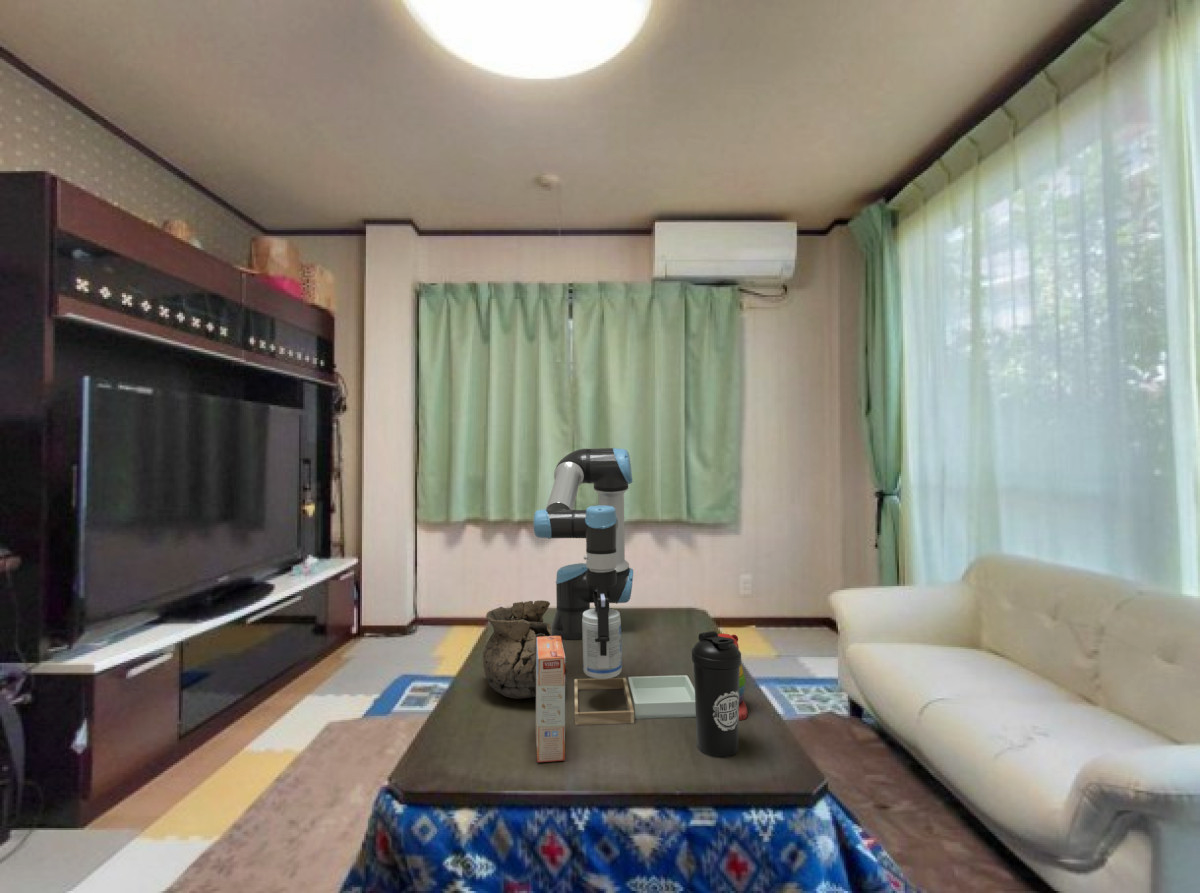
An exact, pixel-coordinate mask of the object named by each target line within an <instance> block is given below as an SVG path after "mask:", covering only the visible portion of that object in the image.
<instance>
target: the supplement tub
mask: <svg viewBox="0 0 1200 893" xmlns="http://www.w3.org/2000/svg"><path fill="white" fill-rule="evenodd" d="M608 617H609V638H610V640H609V668H602V669H598V667H597V642H595V639H597V638H598V617H597V612H595V607H594V608H590V609H589V610H586V611H585V612H583V618H582V636H583V639H582V668H583V669H582V670H583V673H584V674H585V675H586V676H587V677H589V678H591V679H608V678H616V677H617V676H619V675H620V674H621V672H622V669H623V668H622V666H623V665H622V662H623V661H622V660H623V659H622V622H621V620H622V619H621V614H620V611H618V610H617V609H614V608H610V607H609V612H608Z"/></svg>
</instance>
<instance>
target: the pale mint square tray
mask: <svg viewBox="0 0 1200 893" xmlns="http://www.w3.org/2000/svg"><path fill="white" fill-rule="evenodd" d="M627 684H628V689H629V693H630V697H631V701H632V705H633V709H634V720H641V719H643V720H644V719H674V718H676V719H679V718H696V711H695V686H693V685H694V684H693V683H692V681H691V680H690V678H689V676H688V675H686V674H685V675H684V674H683V675H648V676H645V675H644V676H628V677H627Z"/></svg>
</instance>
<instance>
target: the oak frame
mask: <svg viewBox="0 0 1200 893" xmlns="http://www.w3.org/2000/svg"><path fill="white" fill-rule="evenodd" d="M573 681H574V683H573V684H574V688H573V689H574V690H573V691H574V725H575V726H585V725H586V726H587V725H615V724H617V725H618V724H621V725H623V724H635V717H634V709H633V705H632V701H631V697H630V693H629V689H628V679H627V678H626V677H612V678H608V679H595V678H574V680H573ZM616 689H617V690H620V689H621V690H623V694H624V699H625V703H626V708H627V710H606V711H604V710H603V711H602V710H601V711H579V695H578V694H579V691H582V690H583V691H585V690H586V691H587V690H588V691H589V690H616Z"/></svg>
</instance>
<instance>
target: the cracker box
mask: <svg viewBox="0 0 1200 893" xmlns="http://www.w3.org/2000/svg"><path fill="white" fill-rule="evenodd" d="M562 640H563V639H561V636H553V635H552V636H544V637H537V638H536V697H535V739H536V740H535V741H536V742H535V743H536V759H537V760H536V761H537V763H547V762H548V763H549V762H550V763H551V762H561V761H562V762H564V761H565V760H566V759H565V758H566V738H565V737H566V736H565V735H566V675H565V669H566V667H565V665H566V654H565V650H564V645H563V641H562Z"/></svg>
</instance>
